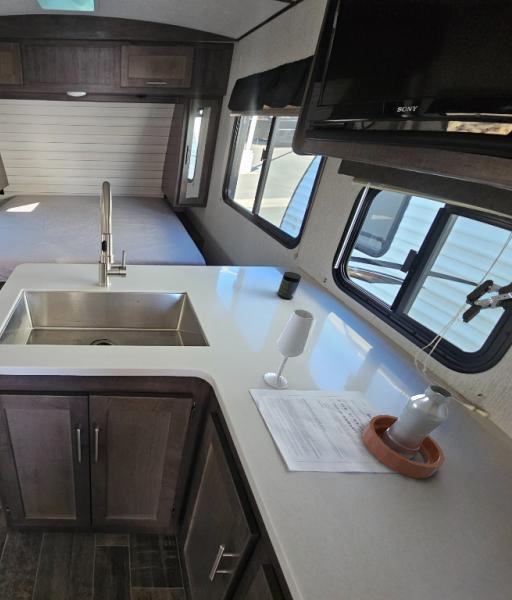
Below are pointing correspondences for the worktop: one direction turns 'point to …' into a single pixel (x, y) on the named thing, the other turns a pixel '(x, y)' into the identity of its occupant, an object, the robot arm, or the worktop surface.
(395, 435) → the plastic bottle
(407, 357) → the worktop surface
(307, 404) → the worktop surface
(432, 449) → the ring
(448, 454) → the worktop surface
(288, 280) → the supplement container
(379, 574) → the worktop surface
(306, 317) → the champagne flute
